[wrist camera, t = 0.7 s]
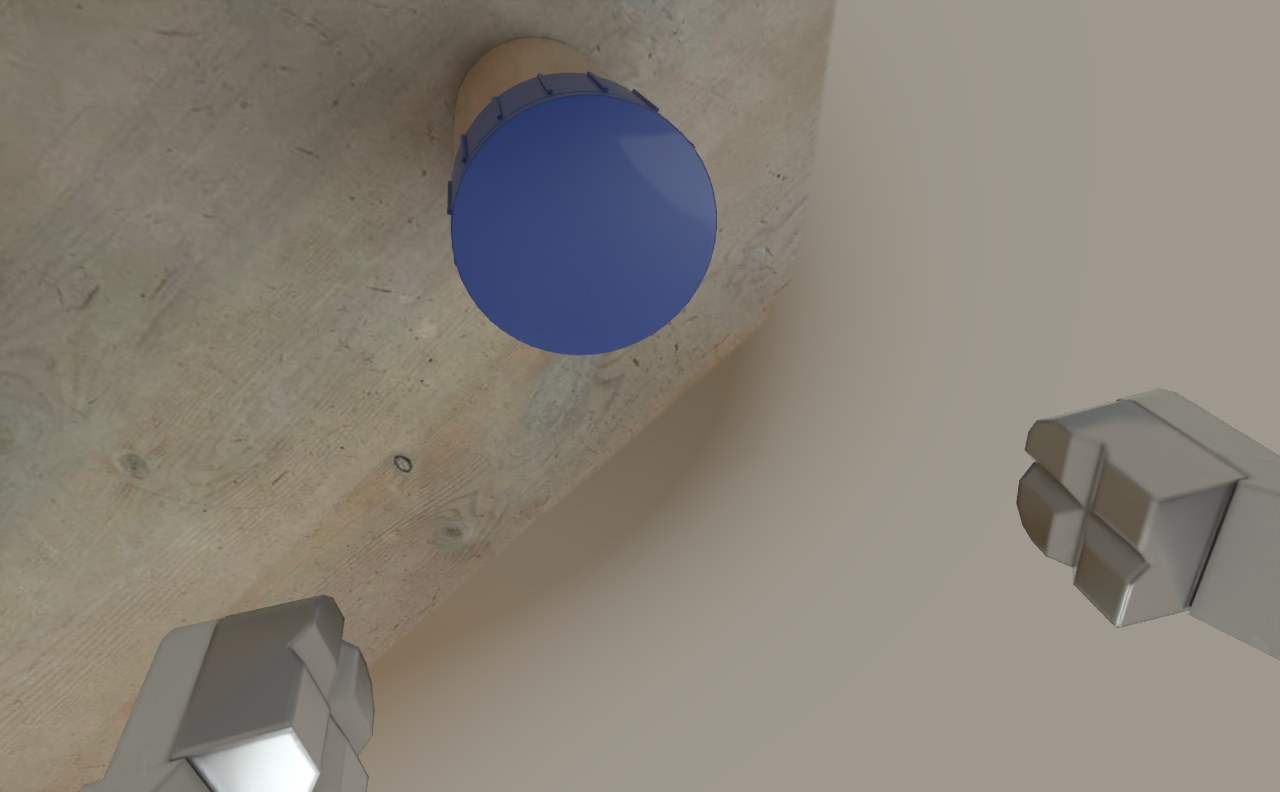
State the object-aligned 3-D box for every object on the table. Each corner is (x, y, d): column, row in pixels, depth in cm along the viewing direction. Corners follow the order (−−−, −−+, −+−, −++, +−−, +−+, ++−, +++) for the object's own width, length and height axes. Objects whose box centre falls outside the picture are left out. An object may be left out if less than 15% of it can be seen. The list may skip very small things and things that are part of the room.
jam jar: (480, 8, 26) (498, 51, 16) (641, 74, 28) (747, 150, 18) (435, 177, 28) (426, 308, 18) (585, 226, 30) (652, 367, 20)
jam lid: (489, 30, 18) (496, 46, 15) (719, 122, 20) (762, 151, 17) (423, 268, 20) (418, 320, 18) (633, 327, 23) (659, 381, 20)
